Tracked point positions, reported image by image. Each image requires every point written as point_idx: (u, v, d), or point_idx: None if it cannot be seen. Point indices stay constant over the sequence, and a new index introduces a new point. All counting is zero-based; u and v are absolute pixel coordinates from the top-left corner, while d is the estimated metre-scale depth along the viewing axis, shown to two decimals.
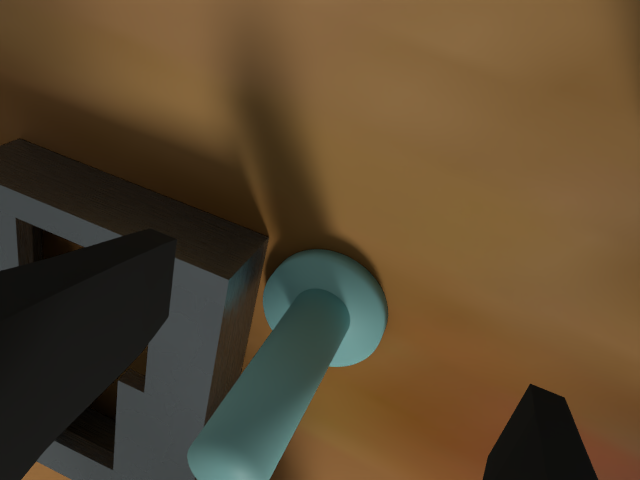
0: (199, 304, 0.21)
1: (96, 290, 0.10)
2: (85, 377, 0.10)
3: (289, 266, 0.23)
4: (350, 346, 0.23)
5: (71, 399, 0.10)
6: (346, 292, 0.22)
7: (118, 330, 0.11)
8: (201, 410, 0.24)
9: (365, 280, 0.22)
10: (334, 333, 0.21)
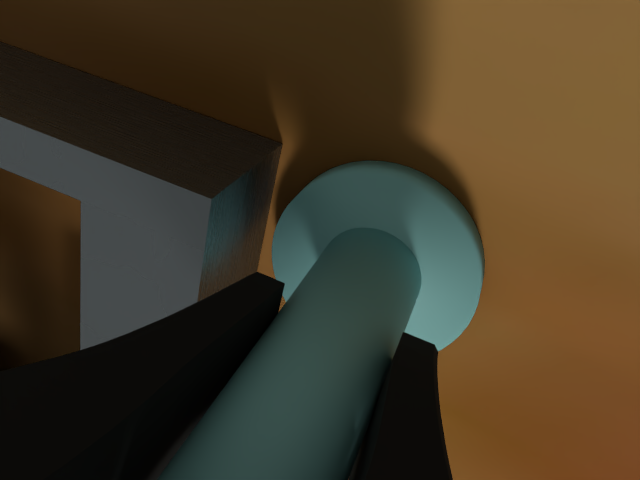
0: (161, 249, 0.12)
1: (223, 346, 0.09)
2: None
3: (318, 189, 0.13)
4: (418, 327, 0.14)
5: None
6: (417, 232, 0.13)
7: None
8: None
9: (452, 209, 0.12)
10: (402, 300, 0.12)
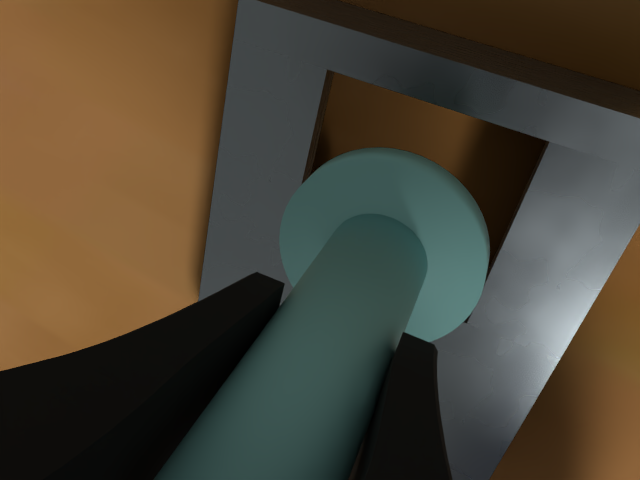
0: (620, 179, 0.15)
1: (223, 346, 0.09)
2: None
3: (330, 173, 0.13)
4: (421, 314, 0.14)
5: None
6: (426, 220, 0.13)
7: None
8: (559, 344, 0.18)
9: (462, 200, 0.13)
10: (409, 287, 0.12)
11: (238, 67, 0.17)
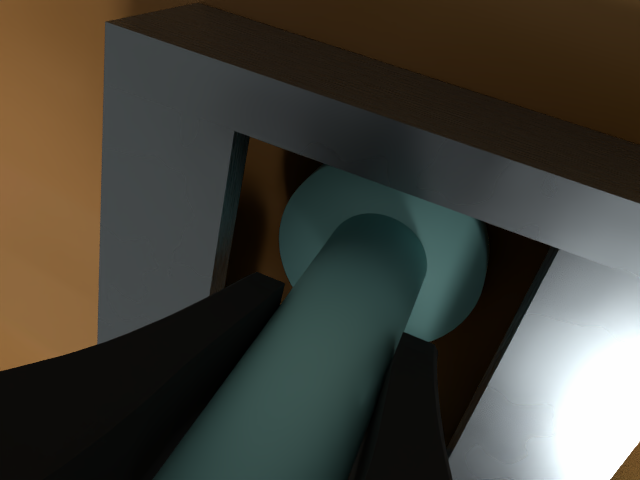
0: None
1: (223, 346, 0.09)
2: None
3: (329, 173, 0.13)
4: (421, 314, 0.14)
5: None
6: (426, 220, 0.13)
7: None
8: None
9: None
10: (409, 287, 0.12)
11: (114, 122, 0.12)
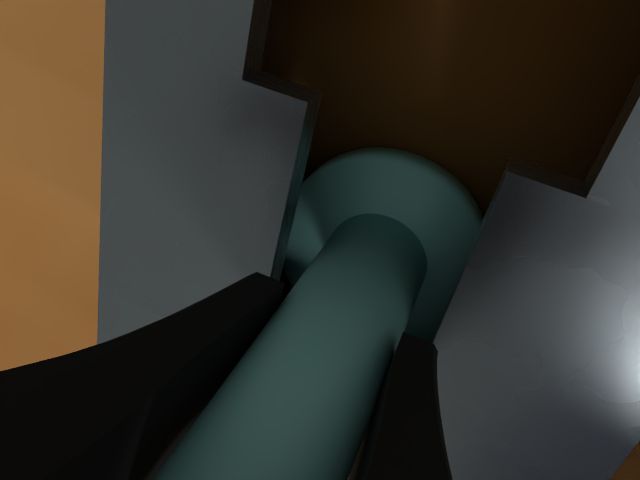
0: None
1: (223, 346, 0.09)
2: None
3: (329, 173, 0.13)
4: (421, 314, 0.14)
5: None
6: (426, 220, 0.13)
7: None
8: None
9: (462, 200, 0.13)
10: (409, 287, 0.12)
11: None
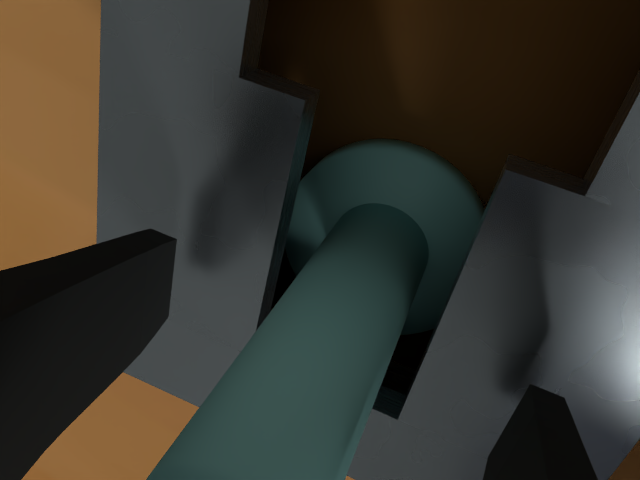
0: None
1: (96, 290, 0.09)
2: (85, 377, 0.10)
3: (333, 164, 0.14)
4: (422, 302, 0.14)
5: (71, 399, 0.10)
6: (428, 209, 0.13)
7: (118, 330, 0.11)
8: None
9: (462, 189, 0.13)
10: (412, 273, 0.12)
11: None
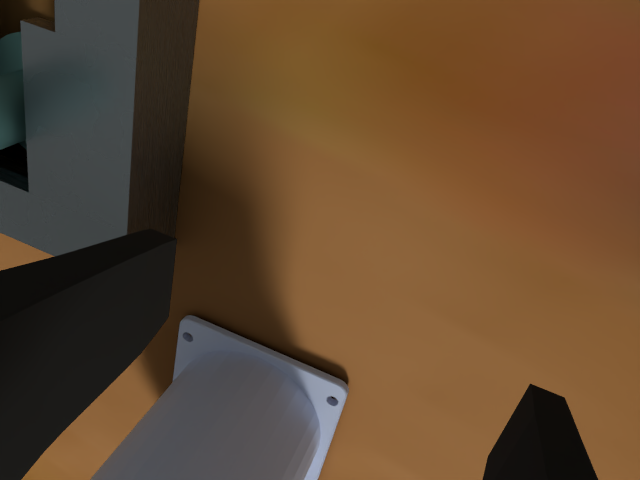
0: None
1: (96, 290, 0.09)
2: (85, 377, 0.10)
3: (1, 44, 0.22)
4: None
5: (71, 399, 0.10)
6: None
7: (118, 330, 0.11)
8: (130, 41, 0.17)
9: None
10: None
11: None
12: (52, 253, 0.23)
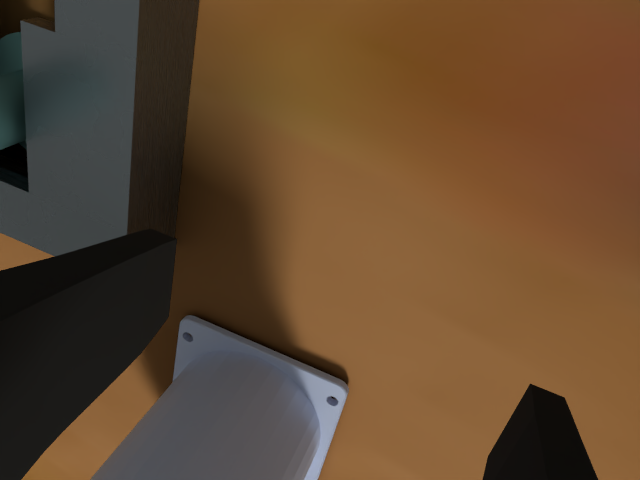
0: None
1: (96, 290, 0.09)
2: (85, 377, 0.10)
3: (1, 44, 0.22)
4: None
5: (71, 399, 0.10)
6: None
7: (118, 330, 0.11)
8: (130, 41, 0.17)
9: None
10: None
11: None
12: (52, 253, 0.23)
